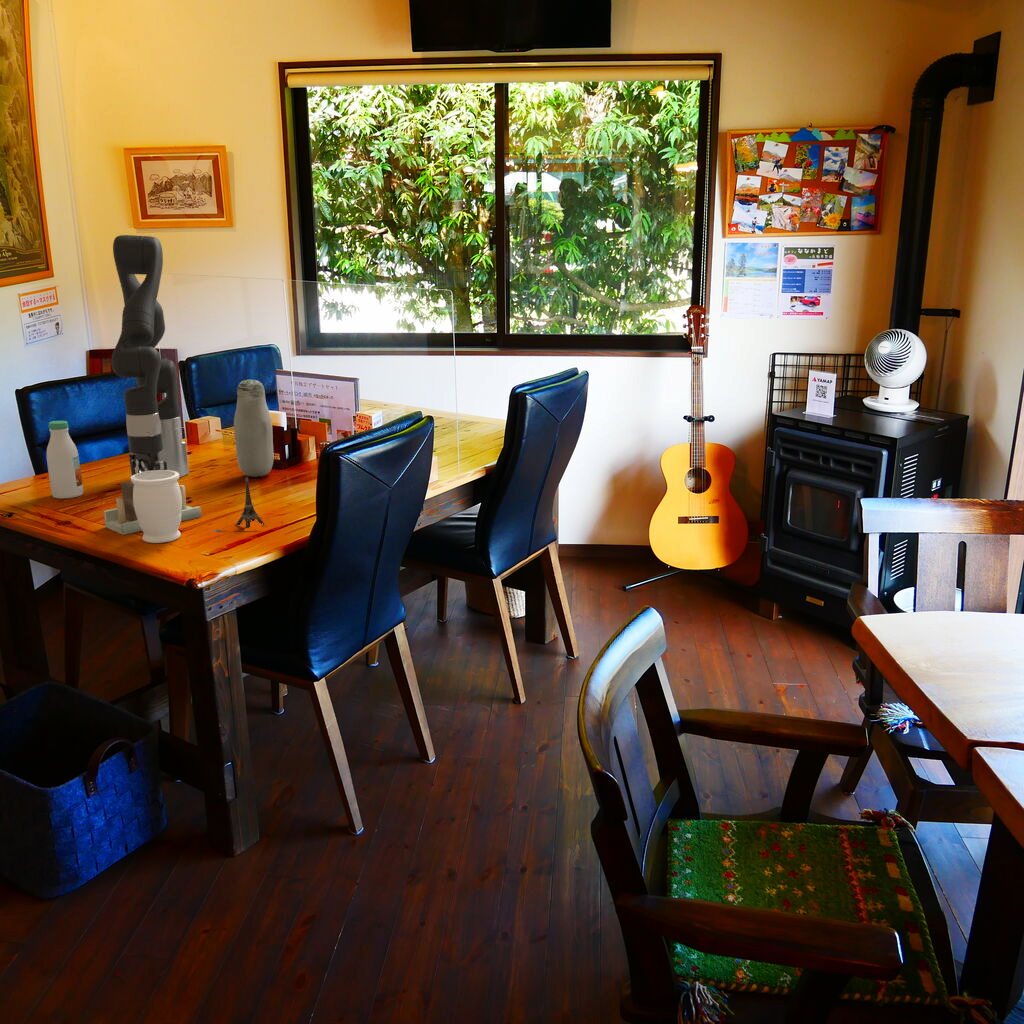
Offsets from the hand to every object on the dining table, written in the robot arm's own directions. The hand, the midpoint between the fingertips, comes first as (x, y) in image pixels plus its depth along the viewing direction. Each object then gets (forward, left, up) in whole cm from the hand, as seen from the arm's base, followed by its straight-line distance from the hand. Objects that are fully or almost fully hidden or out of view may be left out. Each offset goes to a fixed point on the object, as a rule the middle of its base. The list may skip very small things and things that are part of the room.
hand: (151, 498), depth 223 cm
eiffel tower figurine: (-14, +19, -7) cm, 25 cm away
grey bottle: (-42, -20, -6) cm, 47 cm away
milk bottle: (+4, -39, -6) cm, 40 cm away
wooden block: (0, 0, -4) cm, 4 cm away
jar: (+5, +13, -6) cm, 15 cm away
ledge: (0, 0, -6) cm, 6 cm away
